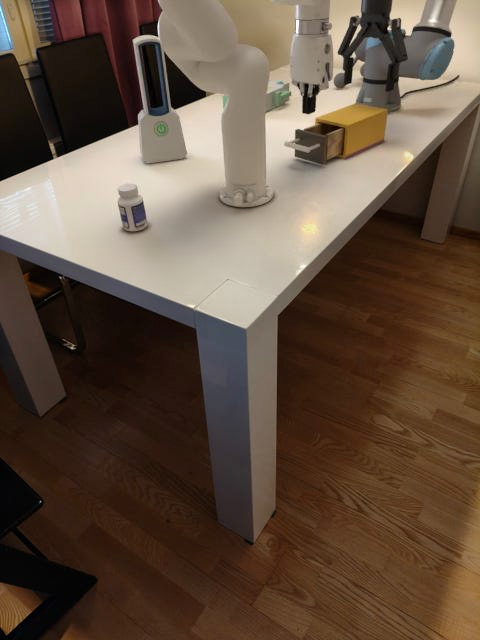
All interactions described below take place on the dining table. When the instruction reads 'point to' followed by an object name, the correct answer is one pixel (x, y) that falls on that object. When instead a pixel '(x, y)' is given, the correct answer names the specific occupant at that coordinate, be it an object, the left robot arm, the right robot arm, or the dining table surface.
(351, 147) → the yellow open box
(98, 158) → the dining table surface
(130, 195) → the pill bottle
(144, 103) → the electronic device
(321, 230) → the dining table surface
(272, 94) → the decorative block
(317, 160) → the drawer
